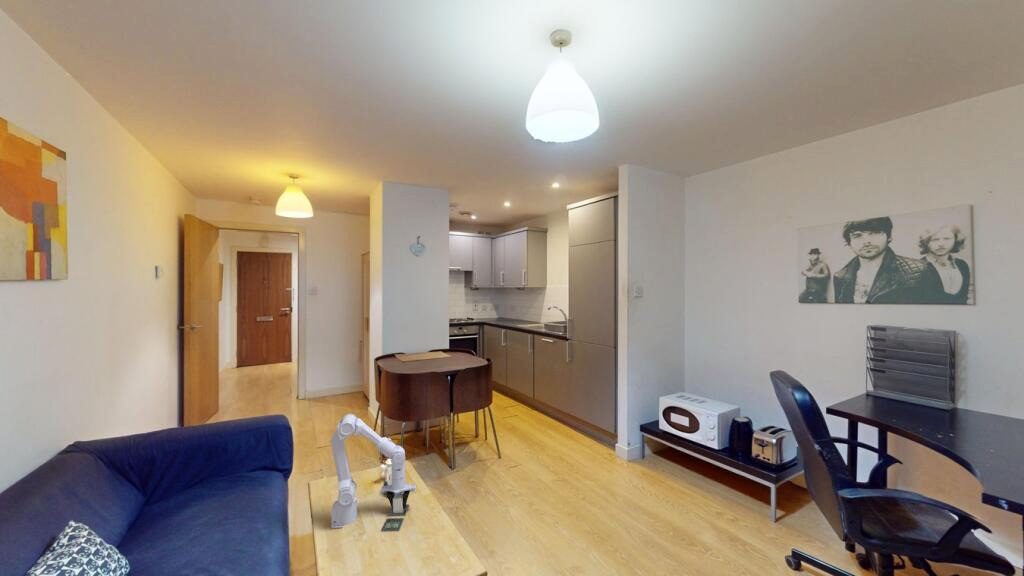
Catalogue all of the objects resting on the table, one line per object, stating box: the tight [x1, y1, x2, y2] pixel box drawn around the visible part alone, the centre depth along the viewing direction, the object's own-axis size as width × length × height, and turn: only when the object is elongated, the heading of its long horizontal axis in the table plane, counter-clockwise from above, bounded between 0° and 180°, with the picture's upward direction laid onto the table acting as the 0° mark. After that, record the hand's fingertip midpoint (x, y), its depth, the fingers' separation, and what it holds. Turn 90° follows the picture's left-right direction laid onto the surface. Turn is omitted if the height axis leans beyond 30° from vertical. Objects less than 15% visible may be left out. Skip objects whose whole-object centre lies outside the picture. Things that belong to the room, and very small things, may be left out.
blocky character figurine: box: [379, 458, 392, 480], centre depth 198 cm, size 9×4×12 cm, turn 125°
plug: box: [392, 492, 404, 513], centre depth 171 cm, size 4×4×7 cm
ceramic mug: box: [382, 478, 404, 494], centre depth 187 cm, size 11×8×8 cm
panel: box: [380, 503, 410, 532], centre depth 166 cm, size 9×18×2 cm, turn 2°
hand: (399, 507), depth 171 cm, fingers open, 4 cm apart
